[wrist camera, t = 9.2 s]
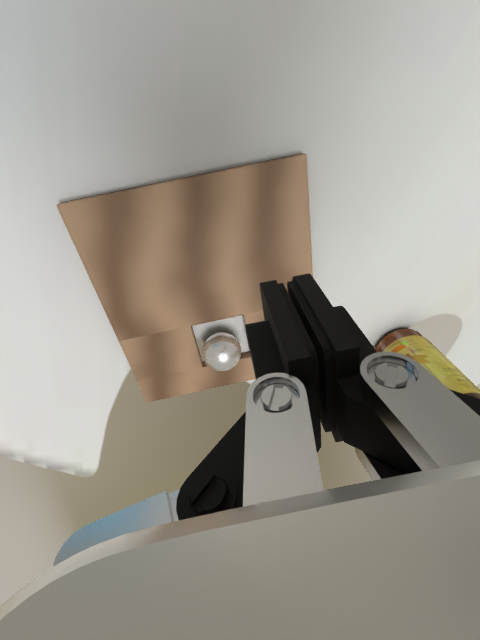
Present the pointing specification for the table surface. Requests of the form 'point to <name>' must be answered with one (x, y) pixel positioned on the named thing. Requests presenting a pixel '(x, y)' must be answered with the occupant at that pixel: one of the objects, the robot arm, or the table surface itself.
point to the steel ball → (221, 351)
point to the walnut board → (191, 262)
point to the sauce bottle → (428, 359)
